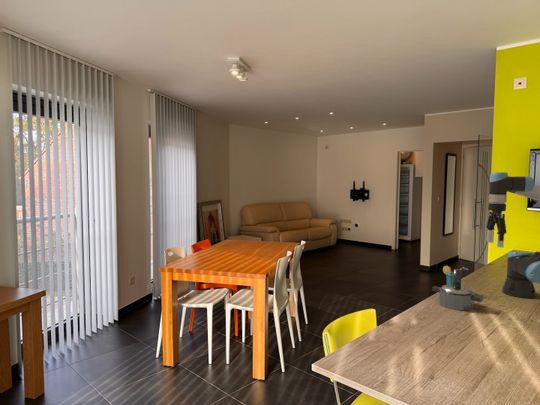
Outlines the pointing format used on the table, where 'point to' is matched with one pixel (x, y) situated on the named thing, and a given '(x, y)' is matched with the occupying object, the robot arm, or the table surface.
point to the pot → (457, 300)
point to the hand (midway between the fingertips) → (495, 244)
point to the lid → (457, 285)
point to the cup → (450, 274)
